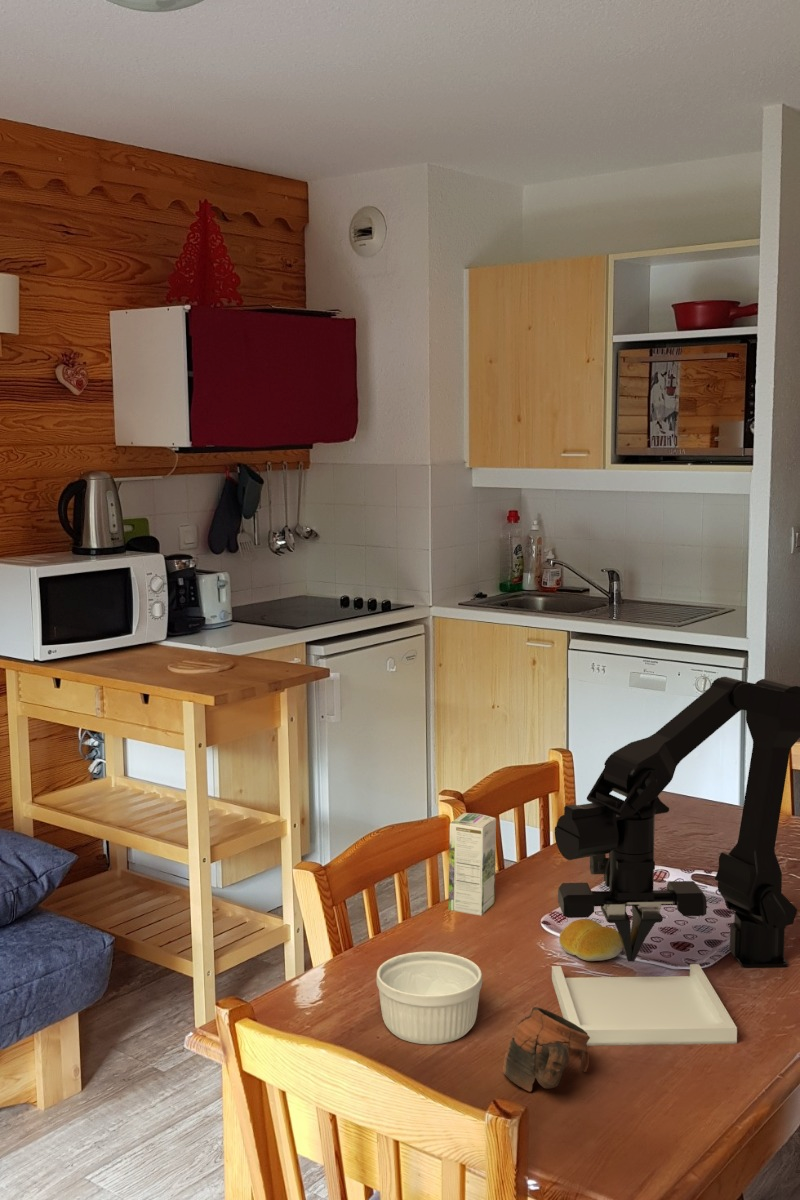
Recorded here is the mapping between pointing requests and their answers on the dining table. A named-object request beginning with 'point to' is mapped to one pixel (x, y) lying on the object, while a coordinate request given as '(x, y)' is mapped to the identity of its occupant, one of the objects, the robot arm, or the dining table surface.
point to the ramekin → (429, 996)
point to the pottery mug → (543, 1049)
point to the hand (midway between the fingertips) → (630, 960)
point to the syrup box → (472, 863)
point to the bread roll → (590, 940)
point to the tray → (645, 1009)
